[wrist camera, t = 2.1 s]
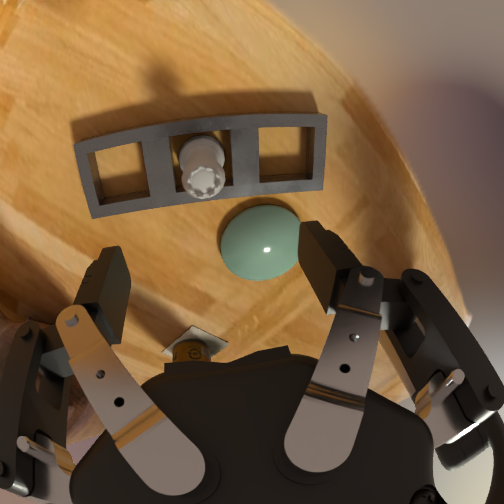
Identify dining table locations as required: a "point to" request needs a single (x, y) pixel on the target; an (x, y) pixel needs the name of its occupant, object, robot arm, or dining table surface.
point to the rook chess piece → (202, 166)
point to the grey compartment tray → (241, 160)
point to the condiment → (195, 346)
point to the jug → (79, 409)
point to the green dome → (261, 242)
